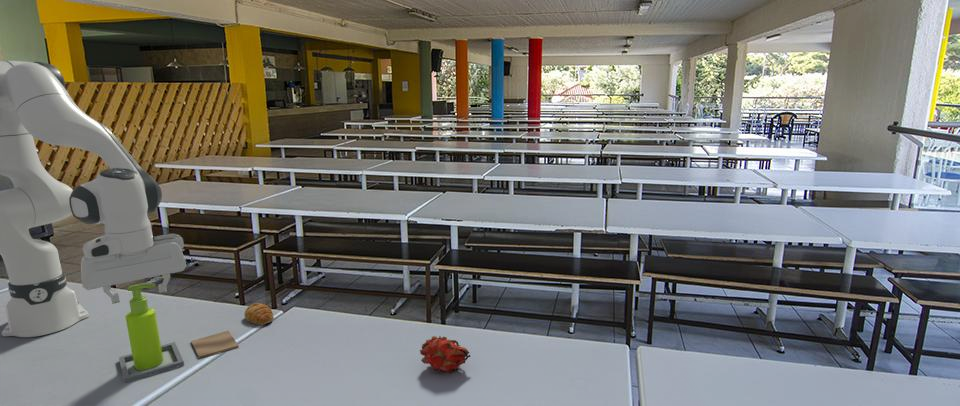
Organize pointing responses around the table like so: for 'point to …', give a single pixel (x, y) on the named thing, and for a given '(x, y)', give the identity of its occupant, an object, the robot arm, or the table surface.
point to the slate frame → (154, 370)
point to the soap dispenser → (143, 330)
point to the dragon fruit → (443, 354)
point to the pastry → (258, 314)
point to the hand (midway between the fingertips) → (140, 297)
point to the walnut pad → (214, 344)
